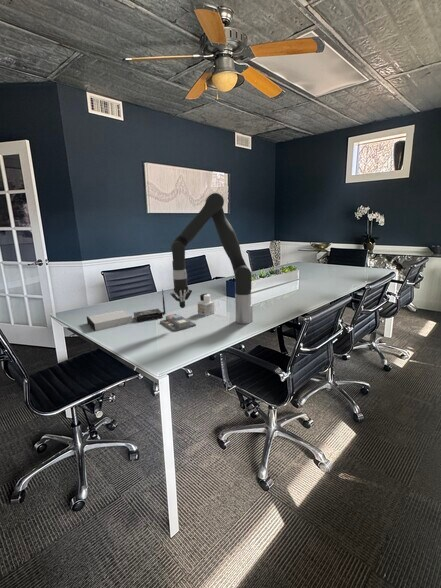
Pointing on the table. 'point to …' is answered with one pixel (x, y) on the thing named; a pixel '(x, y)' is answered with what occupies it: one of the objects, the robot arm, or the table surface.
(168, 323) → the keypad
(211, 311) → the container
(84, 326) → the table surface
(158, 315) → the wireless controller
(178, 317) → the key slate
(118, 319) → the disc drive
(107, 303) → the table surface
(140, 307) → the table surface
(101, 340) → the table surface
